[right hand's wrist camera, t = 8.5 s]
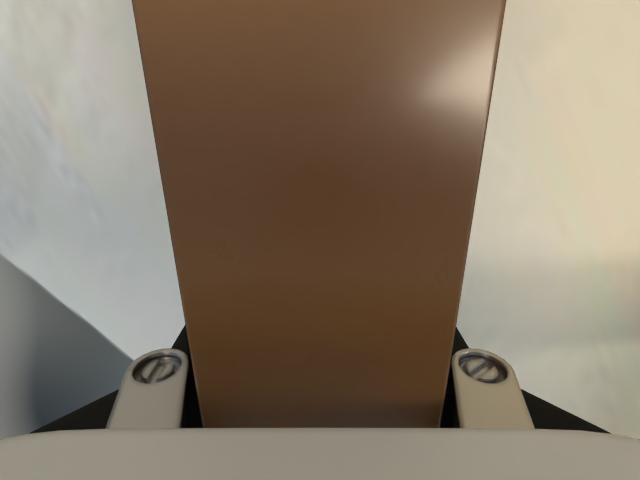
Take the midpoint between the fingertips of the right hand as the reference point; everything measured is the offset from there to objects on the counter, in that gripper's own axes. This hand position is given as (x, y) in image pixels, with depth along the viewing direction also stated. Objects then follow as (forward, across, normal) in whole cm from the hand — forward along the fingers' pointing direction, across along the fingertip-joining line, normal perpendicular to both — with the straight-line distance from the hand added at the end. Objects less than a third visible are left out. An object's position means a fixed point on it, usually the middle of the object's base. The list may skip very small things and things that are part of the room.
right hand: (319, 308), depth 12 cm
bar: (+3, 0, -23) cm, 24 cm away
